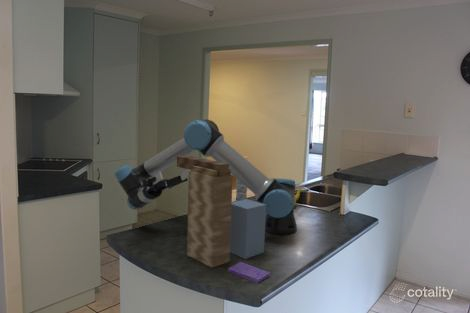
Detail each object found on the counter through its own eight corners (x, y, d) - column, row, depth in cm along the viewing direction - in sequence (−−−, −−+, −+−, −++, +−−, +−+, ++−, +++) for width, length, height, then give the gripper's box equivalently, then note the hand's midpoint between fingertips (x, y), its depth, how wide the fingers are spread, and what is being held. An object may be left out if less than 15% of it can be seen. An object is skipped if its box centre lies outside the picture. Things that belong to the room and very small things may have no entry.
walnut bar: (176, 166, 143) (176, 156, 142) (185, 165, 146) (185, 155, 145) (219, 176, 126) (219, 164, 126) (228, 175, 129) (228, 163, 128)
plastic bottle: (246, 210, 199) (247, 173, 197) (233, 209, 201) (234, 172, 198) (248, 207, 206) (249, 171, 203) (235, 206, 207) (237, 170, 204)
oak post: (187, 255, 139) (188, 165, 134) (204, 249, 144) (206, 163, 140) (212, 267, 129) (215, 171, 124) (229, 261, 134) (232, 169, 130)
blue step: (226, 250, 144) (228, 203, 142) (244, 244, 151) (246, 199, 149) (245, 259, 137) (247, 209, 135) (263, 252, 144) (266, 204, 142)
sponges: (257, 285, 119) (257, 279, 119) (226, 272, 127) (227, 267, 127) (270, 277, 124) (270, 272, 124) (240, 266, 132) (240, 261, 132)
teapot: (289, 212, 200) (290, 190, 199) (267, 206, 209) (268, 185, 208) (302, 207, 211) (304, 186, 210) (280, 202, 220) (281, 182, 218)
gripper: (177, 195, 169) (204, 178, 155) (125, 204, 152) (150, 186, 137) (172, 179, 171) (198, 161, 157) (120, 186, 154) (145, 167, 139)
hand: (176, 173), depth 147 cm, fingers open, 13 cm apart
